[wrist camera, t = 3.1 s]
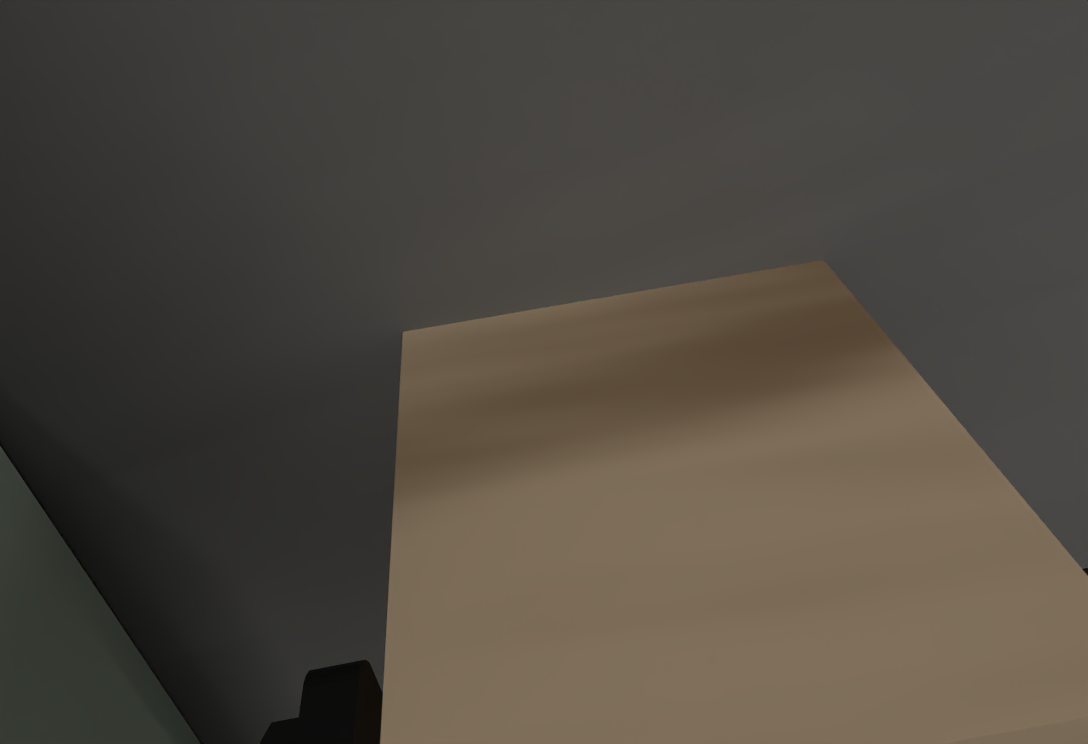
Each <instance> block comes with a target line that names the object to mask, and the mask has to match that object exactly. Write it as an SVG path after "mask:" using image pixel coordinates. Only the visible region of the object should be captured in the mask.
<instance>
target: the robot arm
mask: <svg viewBox="0 0 1088 744" xmlns="http://www.w3.org/2000/svg"><path fill="white" fill-rule="evenodd" d="M1082 570H1083V571H1084V572H1085V573H1086V574H1087V576H1088V568H1085V569H1082ZM382 701H383V693H382V691H381V688H380V686H379V684H378V681H377V679H376V677H375V674H374V672H373V670H372V667H371V665H370V663H369V662H368V661H367V660H361V661H356V662H351V663H346V664H340V665H335V666H330V667H325V668H320V669H314V670H310V671H309V672H308V673H307V675H306V677H305V681H304V685H303V691H302V699H301V706H300V713H299V717H298V718H293V719H288V720H283V721H278V722H272V723H271V724H270V726H269V728H268V730H267V732H266V733H265V735H264V737H263V739H262V740H261V742H260V744H380V738H381V720H382Z"/></svg>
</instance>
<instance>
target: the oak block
mask: <svg viewBox="0 0 1088 744" xmlns="http://www.w3.org/2000/svg"><path fill="white" fill-rule="evenodd" d="M380 744H1088V576H1087V574H1086V573H1085V572H1084V571H1083V570H1082V568H1081V567H1080V566H1079V565H1078V564H1077V562H1076V561H1075V560H1074V559H1073V558H1072V556H1071V555H1070V554H1069V553H1068V552H1067V550H1066V549H1065V548H1064V547H1063V546H1062V544H1061V543H1060V542H1059V541H1058V540H1057V538H1056V537H1055V536H1054V535H1053V534H1052V532H1051V531H1050V530H1049V529H1048V528H1047V527H1046V525H1045V524H1044V523H1043V522H1042V521H1041V519H1040V518H1039V517H1038V516H1037V515H1036V513H1035V512H1034V511H1033V510H1032V509H1031V507H1030V506H1029V505H1028V504H1027V503H1026V501H1025V500H1024V499H1023V498H1022V497H1021V495H1020V494H1019V493H1018V492H1017V491H1016V489H1015V488H1014V487H1013V486H1012V485H1011V483H1010V482H1009V481H1008V480H1007V479H1006V477H1005V476H1004V475H1003V474H1002V473H1001V471H1000V470H999V469H998V468H997V467H996V465H995V464H994V463H993V462H992V461H991V460H990V458H989V457H988V456H987V455H986V454H985V452H984V451H983V450H982V449H981V448H980V446H979V445H978V444H977V443H976V442H975V440H974V439H973V438H972V437H971V436H970V434H969V433H968V432H967V431H966V430H965V428H964V427H963V426H962V425H961V424H960V422H959V421H958V420H957V419H956V418H955V416H954V415H953V414H952V413H951V412H950V410H949V409H948V408H947V407H946V406H945V404H944V403H943V402H942V401H941V400H940V398H939V397H938V396H937V395H936V394H935V393H934V391H933V390H932V389H931V388H930V387H929V385H928V384H927V383H926V382H925V381H924V379H923V378H922V377H921V376H920V375H919V373H918V372H917V371H916V370H915V369H914V367H913V366H912V365H911V364H910V363H909V361H908V360H907V359H906V358H905V357H904V355H903V354H902V353H901V352H900V351H899V349H898V348H897V347H896V346H895V345H894V343H893V342H892V341H891V340H890V339H889V337H888V336H887V335H886V334H885V333H884V331H883V330H882V329H881V328H880V327H879V325H878V324H877V323H876V322H875V321H874V320H873V318H872V317H871V316H870V315H869V314H868V312H867V311H866V310H865V309H864V308H863V306H862V305H861V304H860V303H859V302H858V300H857V299H856V298H855V297H854V296H853V294H852V293H851V292H850V291H849V290H848V288H847V287H846V286H845V285H844V284H843V282H842V281H841V280H840V279H839V278H838V276H837V275H836V274H835V273H834V272H833V270H832V269H831V268H830V267H829V266H828V264H827V263H826V262H825V261H824V260H821V261H815V262H809V263H804V264H798V265H792V266H786V267H780V268H774V269H768V270H763V271H757V272H751V273H745V274H739V275H733V276H727V277H722V278H716V279H710V280H704V281H698V282H692V283H687V284H681V285H675V286H669V287H663V288H657V289H651V290H646V291H640V292H634V293H628V294H622V295H616V296H611V297H605V298H599V299H593V300H587V301H581V302H575V303H570V304H564V305H558V306H552V307H546V308H540V309H535V310H529V311H523V312H517V313H511V314H505V315H499V316H494V317H488V318H482V319H476V320H470V321H464V322H459V323H453V324H447V325H441V326H435V327H429V328H423V329H418V330H412V331H406V332H403V338H402V357H401V375H400V393H399V411H398V429H397V447H396V465H395V484H394V502H393V520H392V538H391V556H390V574H389V593H388V611H387V629H386V647H385V665H384V683H383V701H382V720H381V738H380Z"/></svg>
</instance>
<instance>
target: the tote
mask: <svg viewBox="0 0 1088 744" xmlns="http://www.w3.org/2000/svg"><path fill="white" fill-rule="evenodd" d="M0 744H201V743H200V742H199V740H198V739H197V737H196V736H195V734H194V733H193V731H192V730H191V728H190V727H189V725H188V724H187V722H186V721H185V719H184V718H183V716H182V715H181V713H180V712H179V710H178V709H177V707H176V706H175V704H174V703H173V701H172V700H171V698H170V697H169V696H168V694H167V693H166V691H165V690H164V688H163V687H162V685H161V684H160V682H159V681H158V679H157V678H156V676H155V675H154V673H153V672H152V670H151V669H150V667H149V666H148V664H147V663H146V661H145V660H144V658H143V657H142V655H141V654H140V653H139V651H138V650H137V648H136V647H135V645H134V644H133V642H132V641H131V639H130V638H129V636H128V635H127V633H126V632H125V630H124V629H123V627H122V626H121V624H120V623H119V621H118V620H117V618H116V617H115V615H114V614H113V612H112V611H111V609H110V608H109V607H108V605H107V604H106V602H105V601H104V599H103V598H102V596H101V595H100V593H99V592H98V590H97V589H96V587H95V586H94V584H93V583H92V581H91V580H90V578H89V577H88V575H87V574H86V572H85V571H84V569H83V568H82V566H81V565H80V563H79V562H78V561H77V559H76V558H75V556H74V555H73V553H72V552H71V550H70V549H69V547H68V546H67V544H66V543H65V541H64V540H63V538H62V537H61V535H60V534H59V532H58V531H57V529H56V528H55V526H54V525H53V523H52V522H51V520H50V519H49V517H48V516H47V515H46V513H45V512H44V510H43V509H42V507H41V506H40V504H39V503H38V501H37V500H36V498H35V497H34V495H33V494H32V492H31V491H30V489H29V488H28V486H27V485H26V483H25V482H24V480H23V479H22V477H21V476H20V474H19V473H18V471H17V470H16V469H15V467H14V466H13V464H12V463H11V461H10V460H9V458H8V457H7V455H6V454H5V452H4V451H3V449H2V448H1V446H0Z"/></svg>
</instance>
